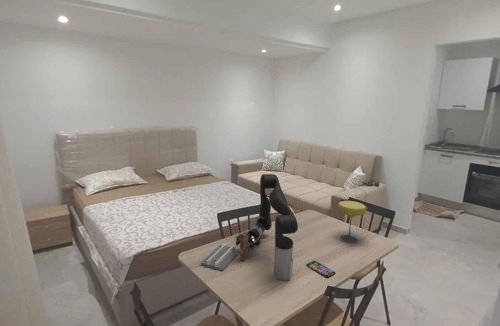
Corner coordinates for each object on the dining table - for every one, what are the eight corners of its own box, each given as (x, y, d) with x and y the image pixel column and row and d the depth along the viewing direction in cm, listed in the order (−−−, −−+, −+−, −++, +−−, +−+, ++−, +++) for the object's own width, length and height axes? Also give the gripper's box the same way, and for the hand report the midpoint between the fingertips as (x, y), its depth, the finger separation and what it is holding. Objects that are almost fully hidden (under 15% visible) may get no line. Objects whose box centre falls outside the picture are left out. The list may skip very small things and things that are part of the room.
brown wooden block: (248, 257, 164) (248, 232, 161) (244, 261, 160) (244, 235, 156) (243, 256, 165) (243, 231, 162) (239, 260, 161) (240, 234, 158)
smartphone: (314, 260, 161) (336, 272, 150) (314, 261, 162) (336, 274, 150) (305, 264, 157) (327, 277, 145) (305, 266, 157) (327, 279, 145)
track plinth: (240, 252, 170) (240, 246, 169) (223, 271, 150) (223, 265, 149) (220, 247, 175) (220, 241, 174) (200, 265, 155) (200, 259, 155)
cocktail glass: (368, 239, 188) (372, 204, 183) (354, 248, 176) (358, 211, 171) (343, 230, 201) (346, 197, 196) (329, 238, 189) (332, 203, 184)
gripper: (244, 226, 177) (232, 236, 162) (265, 230, 171) (255, 242, 157) (243, 237, 178) (232, 248, 163) (265, 241, 173) (255, 254, 158)
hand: (243, 245), depth 160 cm, fingers open, 8 cm apart
